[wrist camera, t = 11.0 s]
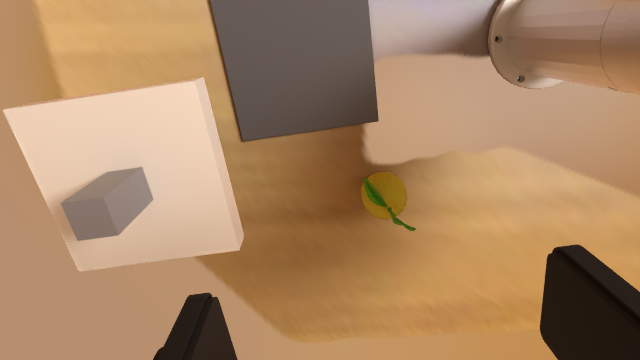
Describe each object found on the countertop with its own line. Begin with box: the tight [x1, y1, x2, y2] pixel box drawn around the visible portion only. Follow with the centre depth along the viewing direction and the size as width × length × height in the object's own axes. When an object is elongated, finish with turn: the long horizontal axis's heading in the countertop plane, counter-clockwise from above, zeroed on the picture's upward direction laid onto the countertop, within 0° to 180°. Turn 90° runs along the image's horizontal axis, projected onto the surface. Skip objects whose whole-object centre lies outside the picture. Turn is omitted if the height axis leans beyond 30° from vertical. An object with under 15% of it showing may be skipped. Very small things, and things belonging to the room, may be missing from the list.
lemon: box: [361, 172, 416, 231], centre depth 44 cm, size 7×6×10 cm
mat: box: [210, 0, 378, 141], centre depth 42 cm, size 17×17×1 cm
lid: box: [3, 77, 244, 272], centre depth 29 cm, size 15×15×8 cm
